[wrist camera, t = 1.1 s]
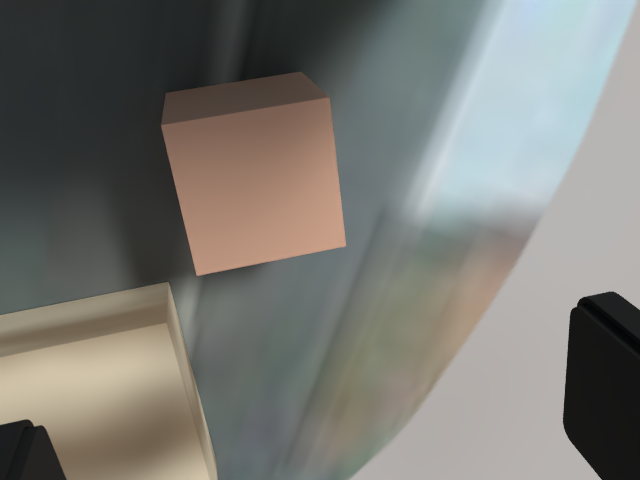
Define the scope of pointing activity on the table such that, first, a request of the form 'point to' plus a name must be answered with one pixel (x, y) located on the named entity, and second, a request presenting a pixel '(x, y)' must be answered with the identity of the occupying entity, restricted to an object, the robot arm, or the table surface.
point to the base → (108, 386)
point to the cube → (254, 170)
